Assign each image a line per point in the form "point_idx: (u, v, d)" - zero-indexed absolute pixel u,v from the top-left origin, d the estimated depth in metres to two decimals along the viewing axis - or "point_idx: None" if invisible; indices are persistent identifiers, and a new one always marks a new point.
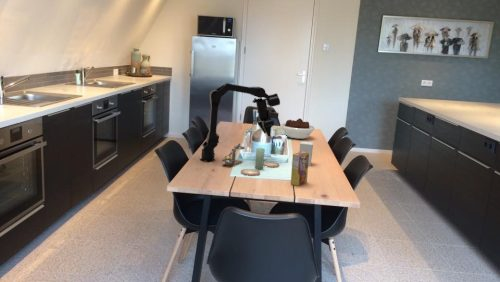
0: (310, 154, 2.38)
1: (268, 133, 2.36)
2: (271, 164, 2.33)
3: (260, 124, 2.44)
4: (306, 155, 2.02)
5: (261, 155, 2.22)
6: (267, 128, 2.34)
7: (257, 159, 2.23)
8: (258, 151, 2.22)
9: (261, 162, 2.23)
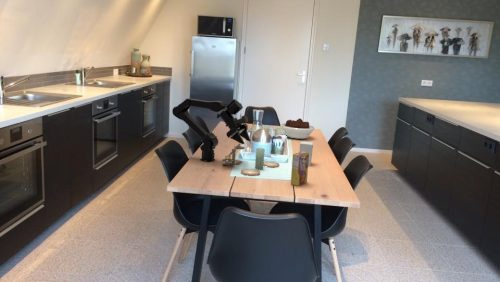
0: (310, 154, 2.38)
1: (240, 141, 2.21)
2: (271, 164, 2.33)
3: (241, 134, 2.32)
4: (306, 155, 2.02)
5: (261, 155, 2.22)
6: (236, 137, 2.21)
7: (257, 159, 2.23)
8: (258, 151, 2.22)
9: (261, 162, 2.23)
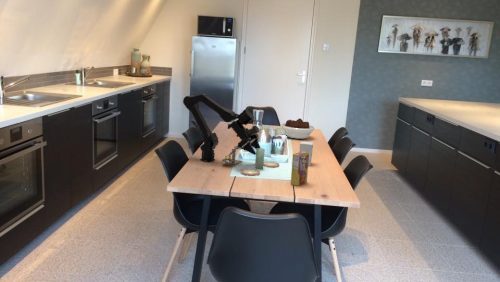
0: (310, 154, 2.38)
1: (252, 152, 2.20)
2: (271, 164, 2.33)
3: (252, 144, 2.30)
4: (306, 155, 2.02)
5: (261, 155, 2.22)
6: (247, 147, 2.20)
7: (257, 159, 2.23)
8: (258, 151, 2.22)
9: (261, 162, 2.23)
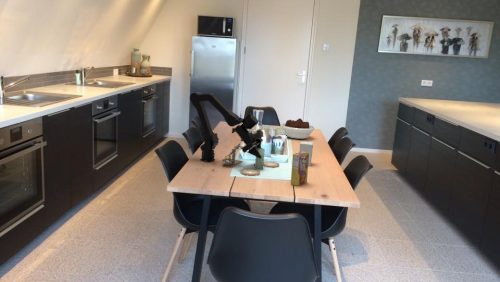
0: (310, 154, 2.38)
1: (257, 155, 2.22)
2: (271, 164, 2.33)
3: None
4: (306, 155, 2.02)
5: (261, 155, 2.22)
6: (253, 151, 2.21)
7: (257, 159, 2.23)
8: (258, 151, 2.22)
9: (261, 162, 2.23)
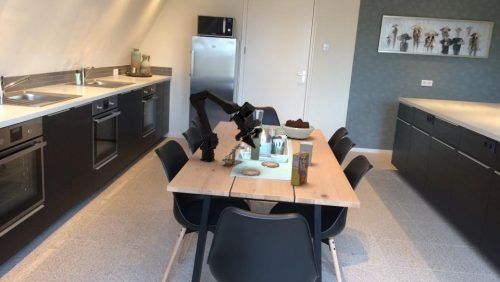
0: (310, 154, 2.38)
1: (251, 145, 2.14)
2: (271, 164, 2.33)
3: None
4: (306, 155, 2.02)
5: (256, 145, 2.14)
6: (247, 140, 2.14)
7: (252, 149, 2.15)
8: (253, 140, 2.14)
9: (256, 152, 2.15)
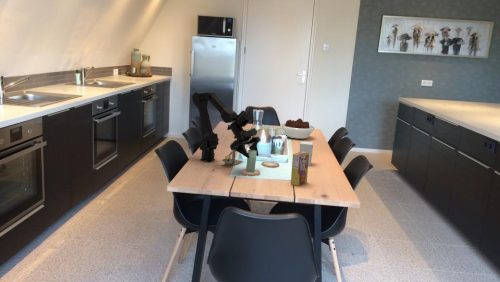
0: (310, 154, 2.38)
1: (245, 155, 2.11)
2: (271, 164, 2.33)
3: (251, 148, 2.19)
4: (306, 155, 2.02)
5: (251, 157, 2.12)
6: (241, 150, 2.12)
7: (247, 161, 2.14)
8: (249, 153, 2.12)
9: (251, 165, 2.13)
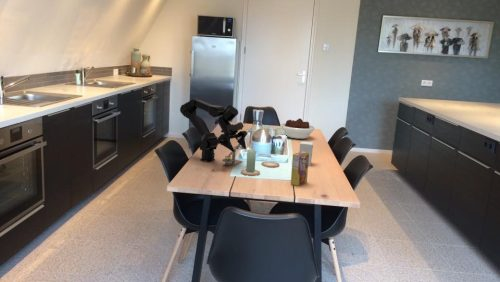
0: (310, 154, 2.38)
1: (230, 148, 2.16)
2: (271, 164, 2.33)
3: (239, 141, 2.26)
4: (306, 155, 2.02)
5: (251, 157, 2.12)
6: (226, 144, 2.17)
7: (247, 161, 2.14)
8: (248, 153, 2.13)
9: (251, 165, 2.13)
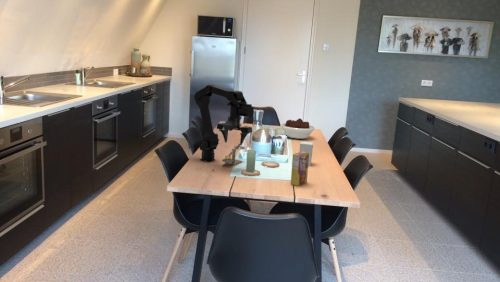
0: (310, 154, 2.38)
1: None
2: (271, 164, 2.33)
3: None
4: (306, 155, 2.02)
5: (251, 157, 2.12)
6: None
7: (247, 161, 2.14)
8: (248, 153, 2.13)
9: (251, 165, 2.13)
